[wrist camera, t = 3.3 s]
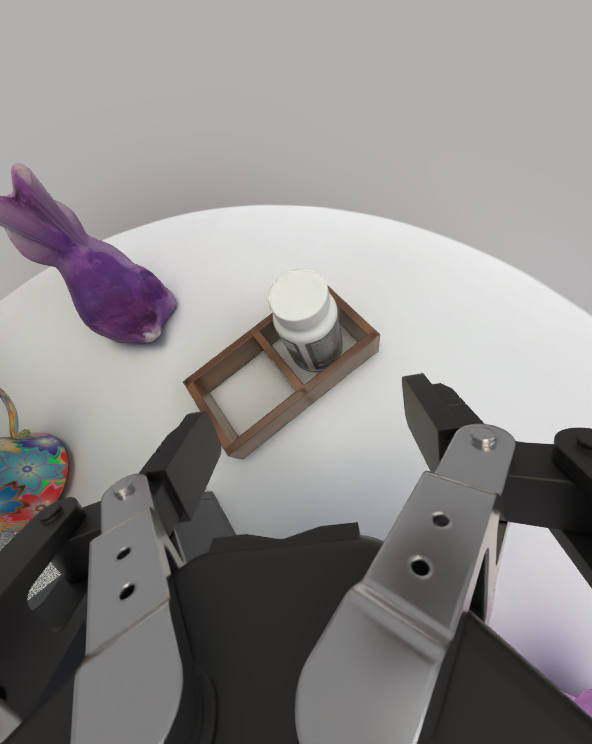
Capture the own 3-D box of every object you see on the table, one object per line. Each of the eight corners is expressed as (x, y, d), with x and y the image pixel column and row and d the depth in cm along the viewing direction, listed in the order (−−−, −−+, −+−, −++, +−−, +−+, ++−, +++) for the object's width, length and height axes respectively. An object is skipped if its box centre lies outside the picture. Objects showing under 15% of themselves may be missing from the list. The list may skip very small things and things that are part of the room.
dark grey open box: (76, 600, 23) (-23, 640, 17) (212, 491, 24) (162, 493, 18) (141, 822, 18) (31, 990, 12) (312, 672, 19) (289, 759, 13)
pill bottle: (343, 324, 27) (336, 260, 19) (342, 372, 26) (333, 324, 18) (292, 325, 28) (266, 266, 21) (288, 372, 27) (258, 326, 19)
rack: (200, 391, 28) (182, 381, 25) (322, 296, 29) (318, 276, 26) (242, 459, 25) (228, 456, 22) (378, 350, 26) (380, 334, 23)
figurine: (110, 278, 36) (-47, 149, 22) (187, 273, 33) (65, 125, 20) (85, 350, 32) (-118, 251, 19) (167, 350, 30) (6, 237, 16)
